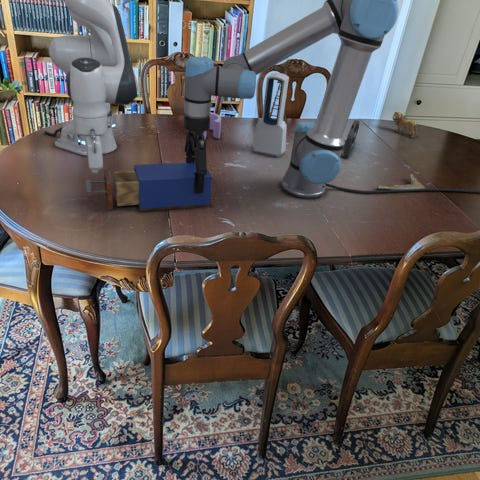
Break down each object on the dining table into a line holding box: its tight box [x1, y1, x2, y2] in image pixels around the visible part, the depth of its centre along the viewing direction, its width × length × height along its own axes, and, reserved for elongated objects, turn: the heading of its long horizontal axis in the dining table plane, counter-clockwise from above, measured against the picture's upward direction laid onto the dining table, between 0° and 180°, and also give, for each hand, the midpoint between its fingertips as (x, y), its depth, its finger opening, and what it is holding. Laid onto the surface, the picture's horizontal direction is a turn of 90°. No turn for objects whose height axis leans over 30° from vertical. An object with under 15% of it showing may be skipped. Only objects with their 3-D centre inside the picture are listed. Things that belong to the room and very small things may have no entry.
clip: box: [203, 111, 222, 140], centre depth 199 cm, size 20×12×7 cm, turn 23°
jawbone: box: [376, 173, 426, 190], centre depth 169 cm, size 9×20×2 cm, turn 126°
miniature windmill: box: [269, 58, 290, 124], centre depth 205 cm, size 9×8×30 cm
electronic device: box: [251, 72, 290, 158], centre depth 178 cm, size 12×8×30 cm, turn 71°
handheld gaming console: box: [342, 119, 361, 159], centre depth 194 cm, size 23×3×10 cm, turn 161°
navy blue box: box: [133, 162, 213, 212], centre depth 143 cm, size 22×11×10 cm, turn 109°
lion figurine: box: [392, 111, 420, 138], centre depth 220 cm, size 15×5×9 cm, turn 50°
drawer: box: [84, 169, 139, 210], centre depth 139 cm, size 26×10×8 cm, turn 109°
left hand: (95, 170), depth 133 cm, fingers closed
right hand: (194, 184), depth 145 cm, fingers closed on navy blue box, 11 cm apart
